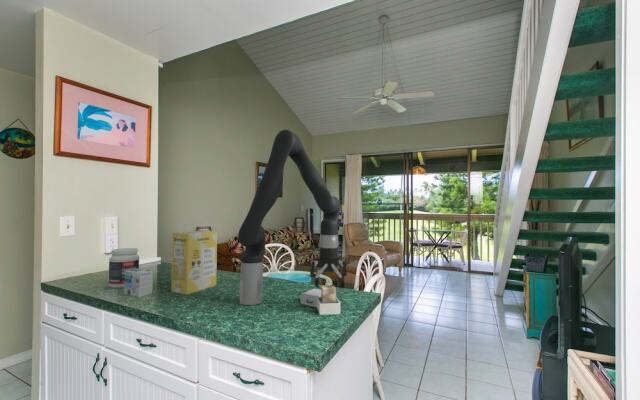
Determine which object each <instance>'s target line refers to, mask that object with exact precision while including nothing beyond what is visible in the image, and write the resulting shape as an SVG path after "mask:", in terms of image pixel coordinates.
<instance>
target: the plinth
mask: <svg viewBox="0 0 640 400" xmlns="http://www.w3.org/2000/svg"><path fill="white" fill-rule="evenodd" d="M316 308H317V311H318V315H320V316H321V315H322V316H323V315H341V301H340V300H339V299H338V298H337V296H336V302H323V301H322V299H321V297H318V298H317V307H316Z"/></svg>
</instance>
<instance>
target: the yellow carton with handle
mask: <svg viewBox="0 0 640 400" xmlns="http://www.w3.org/2000/svg"><path fill="white" fill-rule="evenodd" d="M171 238H172V239H171V241H172V244H171V287H170V288H171V293H177V294H182V295H190V294H193V293H196V292H199V291H203V290H206V289H208V288H209V289H210V288H212V287H215V285H216V286H217V272H218V271H217V262H218V254H217V253H218V230H217V231H216V230H203V229H202V230H192V231H190V230H189V231H179V232H172V237H171Z"/></svg>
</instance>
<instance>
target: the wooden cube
mask: <svg viewBox="0 0 640 400" xmlns="http://www.w3.org/2000/svg"><path fill="white" fill-rule="evenodd" d="M320 290H321V299H322V301H323V302H336V297H337V287H336V286H335V285H333V284H328V285H327V284H325V285H321V286H320Z"/></svg>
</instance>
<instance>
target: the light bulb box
mask: <svg viewBox="0 0 640 400" xmlns="http://www.w3.org/2000/svg"><path fill="white" fill-rule="evenodd" d="M153 280H154V270H152V269H143V268H139V269H133V270H128V271H125V282H124V288H123V294H124V295H127V296H130V297H131V296H132V297H137V298H140V297H144V296H148V295H151V294H153V285H154V284H153V283H154V282H153Z"/></svg>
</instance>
